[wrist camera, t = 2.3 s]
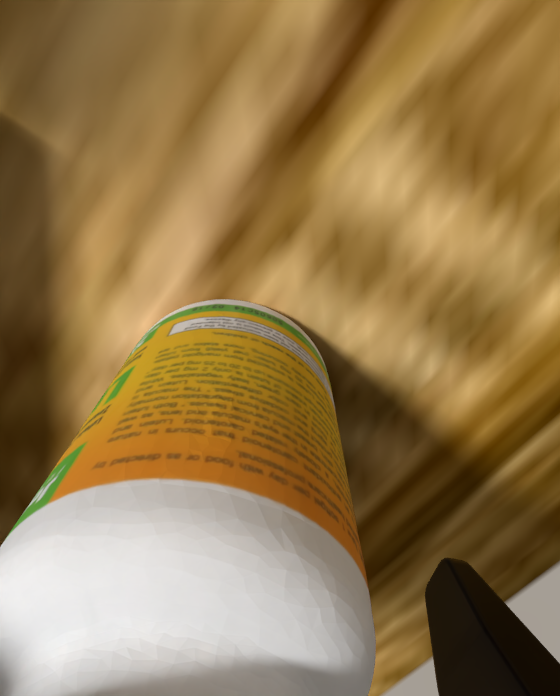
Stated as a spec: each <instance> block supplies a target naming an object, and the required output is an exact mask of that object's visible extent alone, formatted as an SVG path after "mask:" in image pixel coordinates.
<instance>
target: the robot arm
mask: <svg viewBox="0 0 560 696" xmlns="http://www.w3.org/2000/svg"><path fill="white" fill-rule="evenodd" d="M425 599H426V607H427V615H428V622H429V630H430V637H431V644H432V652H433V659H434V667H435V674H436V680H437V687H438V692H439V696H560V664H559V662H558V661H557V660H556V659H555V658H554V657H553V656H552V655H551V654H550V652H549V651H548V650H547V649H546V648H545V647H544V646H543V645H542V644H541V643H540V641H539V640H538V639H537V638H536V637H535V636H534V635H533V634H532V633H531V632H530V631H529V629H528V628H527V627H526V626H525V625H524V624H523V623H522V622H521V621H520V620H519V618H518V617H517V616H516V615H515V614H514V613H513V612H512V611H511V610H510V608H509V607H508V606H507V605H506V604H505V603H504V602H503V601H502V600H501V599H500V597H499V596H498V595H497V594H496V593H495V592H494V591H493V590H492V589H491V588H490V586H489V585H488V584H487V583H486V582H485V581H484V580H483V579H482V578H481V577H480V575H479V574H478V573H477V572H476V571H475V570H474V569H473V568H472V567H471V566H470V565H469V564H468V563H467V562H465V561H462V560H457V559H451V558H444V559H443V560H441V562H440V563H439V565H438V567H437V568H436V570H435V572H434V573H433V575H432V577H431V579H430V580H429V582H428V584H427V587H426V592H425Z"/></svg>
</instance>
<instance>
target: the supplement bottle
mask: <svg viewBox="0 0 560 696" xmlns="http://www.w3.org/2000/svg"><path fill="white" fill-rule="evenodd" d="M375 645H376V640H375V630H374V623H373V617H372V610H371V600H370V594H369V589H368V583H367V577H366V571H365V565H364V560H363V555H362V550H361V545H360V540H359V535H358V530H357V525H356V519H355V514H354V508H353V503H352V498H351V493H350V487H349V482H348V477H347V471H346V466H345V460H344V455H343V450H342V445H341V439H340V434H339V428H338V423H337V418H336V412H335V406H334V401H333V395H332V389H331V384H330V381H329V377H328V373H327V370H326V366H325V363H324V361H323V359H322V357H321V355H320V353H319V351H318V349H317V348H316V346H315V345H314V343H313V342H312V340H311V339H310V338H309V337H308V336H307V334H306V333H305V332H304V331H303V330H302V329H301V328H300V327H299V326H297V325H296V324H295V323H294V322H292V321H291V320H290V319H288V318H287V317H285V316H283V315H281V314H279V313H277V312H276V311H273V310H271V309H269V308H267V307H264V306H261V305H258V304H255V303H251V302H247V301H239V300H232V299H217V300H209V301H203V302H198V303H194V304H190V305H187V306H184V307H182V308H180V309H177V310H176V311H174V312H172V313H170V314H168V315H167V316H165V317H163V318H162V319H161V320H159V321H158V322H157V323H156V324H155V325H154V326H152V327H151V328H150V329H149V330H148V332H147V333H146V334H145V335H144V336H143V338H142V339H141V340H140V341H139V342H138V344H137V345H136V347H135V348H134V349H133V351H132V353H131V354H130V356H129V357H128V359H127V360H126V362H125V363H124V365H123V366H122V368H121V369H120V371H119V372H118V374H117V375H116V377H115V378H114V380H113V381H112V383H111V385H110V386H109V387H108V389H107V390H106V392H105V393H104V395H103V396H102V398H101V399H100V401H99V402H98V404H97V405H96V407H95V408H94V410H93V411H92V413H91V414H90V416H89V417H88V419H87V420H86V422H85V423H84V425H83V426H82V428H81V429H80V431H79V432H78V434H77V435H76V437H75V438H74V440H73V441H72V443H71V444H70V445H69V447H68V448H67V450H66V451H65V453H64V454H63V456H62V457H61V459H60V460H59V462H58V463H57V465H56V466H55V467H54V469H53V470H52V472H51V473H50V475H49V476H48V478H47V479H46V481H45V482H44V484H43V485H42V487H41V488H40V489H39V491H38V492H37V494H36V495H35V497H34V498H33V500H32V501H31V503H30V504H29V505H28V507H27V508H26V510H25V511H24V513H23V514H22V516H21V517H20V518H19V520H18V521H17V523H16V524H15V525H14V527H13V528H12V530H11V531H10V533H9V534H8V536H7V537H6V539H5V541H4V542H3V544H2V545H1V547H0V696H368V693H369V690H370V687H371V682H372V678H373V673H374V665H375Z"/></svg>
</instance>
